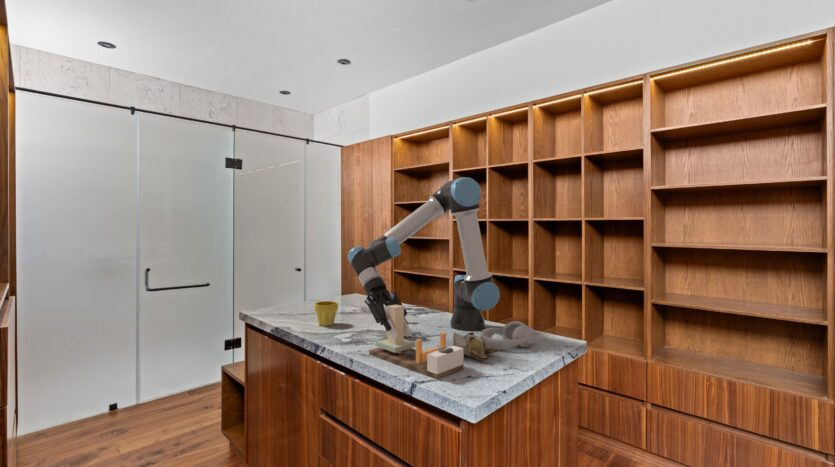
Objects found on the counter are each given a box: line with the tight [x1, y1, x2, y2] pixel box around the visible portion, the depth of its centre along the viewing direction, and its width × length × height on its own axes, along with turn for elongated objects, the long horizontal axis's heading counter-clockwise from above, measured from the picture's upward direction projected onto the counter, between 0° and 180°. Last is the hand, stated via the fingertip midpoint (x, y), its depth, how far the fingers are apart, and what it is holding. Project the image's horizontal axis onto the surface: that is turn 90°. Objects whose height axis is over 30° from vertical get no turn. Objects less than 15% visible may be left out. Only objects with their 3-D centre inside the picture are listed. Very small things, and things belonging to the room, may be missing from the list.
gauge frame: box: [415, 332, 447, 364], centre depth 126 cm, size 1×12×7 cm, turn 135°
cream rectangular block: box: [427, 345, 464, 374], centre depth 122 cm, size 4×12×6 cm, turn 134°
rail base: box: [368, 347, 464, 380], centre depth 132 cm, size 32×12×2 cm, turn 44°
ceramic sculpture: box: [452, 331, 500, 361], centre depth 137 cm, size 11×9×15 cm
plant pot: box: [314, 300, 339, 327], centre depth 182 cm, size 10×10×10 cm
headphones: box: [479, 320, 536, 351], centre depth 152 cm, size 18×8×20 cm
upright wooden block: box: [375, 304, 416, 354], centre depth 139 cm, size 10×9×15 cm
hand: (402, 336), depth 136 cm, fingers open, 5 cm apart
